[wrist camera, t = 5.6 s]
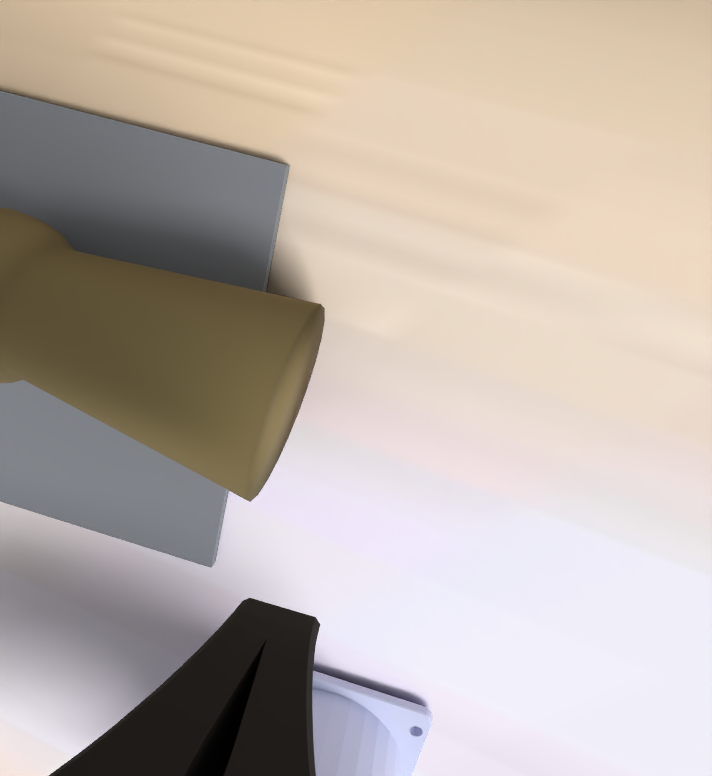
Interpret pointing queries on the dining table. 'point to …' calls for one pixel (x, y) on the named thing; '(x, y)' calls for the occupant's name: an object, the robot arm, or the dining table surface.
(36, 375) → the cork
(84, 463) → the mat
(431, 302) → the dining table surface
